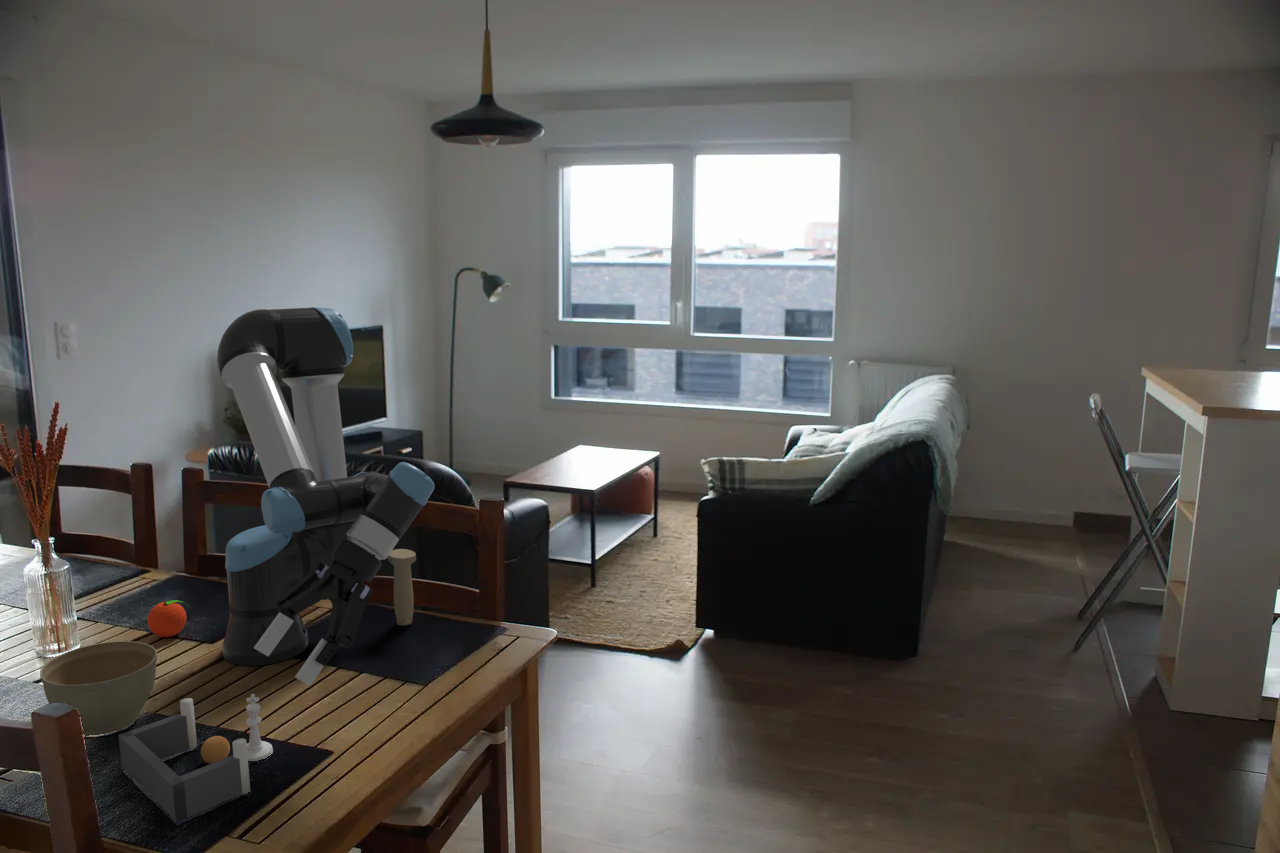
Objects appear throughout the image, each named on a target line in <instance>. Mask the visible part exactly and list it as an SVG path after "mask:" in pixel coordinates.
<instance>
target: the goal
mask: <svg viewBox="0 0 1280 853" xmlns="http://www.w3.org/2000/svg"><path fill="white" fill-rule="evenodd" d="M179 707H180V713H177V714H174V715H171V716H168V717H166V718H163V719H159V720H157V721H155V722H152V723H148V724H146V725H143V726H140V727H137V728H134V729H131V730H129V731H126V732H123V733H120V734H118V744H119V745H118V746H119V753H120V762H121V768H122V767H123V768H124V769H125V770H126V771H127V772H128V773H129V774H130V775H131V776H132V777H133V778H134V779H135V780H136V781H137V782H138V784H140V785H141V787H143V789H145V790H146V791H147V792H148V793H149V794H150V795H151V796H152V797H153V798H154V799H155V800H156V801H157V802H158V803H159V804H160V805H161V806H162V807H163V809H164V810H165V811H166V812H167V813H168V814H169V815H170V816H171V818H172V819H173V820H174V821H175V822H177V821H180V820H182V819H185V818H187V817H190V816H192V815H195V814H197V813H198V812H199V811H203V810H205V809H206V808H210V807H211V806H215V805H216V804H219V803H222V802H224V801H227V800H230V799H233V798H234V797H238V796H240V795H243V794H247V793H248V792H250V793H251V785H250V784H251V783H250V770H249V763H248V755H247V744H248V743H247V739H246V738H237V739H235V740H233V741H232V743H231V744H232V755H230V756H229V755H228V756H227V758H224V759H222V760H219V761H217V762H214V763H212V764H209V763H208V764H207V765H205V766H202V767H199V768H197V769H194V770H192V771H190V772H187V773H185V774H182V775H179V774H177V773H176V771H174V770H173V769H171V767H170V766H168V765H167V764H166V763H165V762H163V761H162V760H161V759H162V758H164V757H168V756H172V755H175V754H177V753H180V752H183V751H186V750H188V749H193V748H195V747H196V746H197V747H198V742H197V740H198V739H197V730H196V721H195V720H196V718H195V707H194V698H192V697H191V698H190V697H188V698H187V697H186V698H183V699H180V701H179Z"/></svg>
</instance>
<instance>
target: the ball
mask: <svg viewBox="0 0 1280 853" xmlns="http://www.w3.org/2000/svg"><path fill="white" fill-rule="evenodd" d="M230 751H231V745H230V742H229V741H228V740H227V739H226V737H224V736H221V735H213V736H211V737H209V738H206V740H205V741H204V742H203V743H202V745H201V748H200V756H201V759H202V760H203V761H204V762H206V763H207V764H209V763H210V764H212V763H214V762H217V761H219V760H222V759H224V758H227V757H229V755H230Z"/></svg>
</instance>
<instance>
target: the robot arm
mask: <svg viewBox="0 0 1280 853" xmlns="http://www.w3.org/2000/svg"><path fill="white" fill-rule="evenodd" d="M353 353H354V345H353V338H352V334H351V331H350V328H349V326H348V323H347V322H346V320H345V318H344V317H343V315H342V314H341V313H340V312H339V311H338V310H336V309H333V308H331V307H315V306H314V307H312V306H311V307H300V308H299V307H297V308H296V307H295V308H280V309H279V308H277V309H276V308H273V309H265V308H264V309H263V308H262V309H261V308H260V309H255V310H250V311H248V312H246V313H245V312H244V313H243V314H242V315H240V316H238V317H237V318H235V319H234V320H233V322H232V323H231V324H229V325H228V327H227V328H226V329H225V330H224V333H223V335H222V337H221V339H220V342H219V344H218V348H217V356H216V358H217V359H216V362H217V367H218V368H217V369H218V371H219V374H220V377H221V379H222V382H223V383H224V384H225V386H226V387H228V388H229V389H231V390H232V392H233V395H234V397H235V400H236V402H237V403H236V404H237V405H238V408H239V411H240V412H241V416H242V419H243V421H244V424H245V426H246V430H247V431H248V434H249V437H250V441H251V443H252V445H253V449H254V450H255V453H256V454H255V455H256V457H257V459H258V461H259V465H260V467H261V469H262V472H263V475H264V478H265V480H266V483H267V485H268V489H266V490H265V491H264V492H262V496H261V500H260V503H261V504H260V506H261V508H260V509H261V512H262V518H263V522H264V525H260V526H256V527H252V528H249V529H246V530H243V531H242V532H239V533H237V534H235V536H233V537H232V538H230V540H229V541H228V542H227V544H226V546H225V565H224V567H225V568H224V569H225V571H226V579H227V589H228V601H229V602H228V603H229V618H228V619H229V621H228V623H227V629H226V634H225V637H224V638H223V642H222V653H223V658H224V660H225V661H226V662H228V663H231V664H233V665H237V666H249V667H250V666H251V667H255V666H265V665H271V664H277V663H280V662H284V661H287V660H290V659H291V658H294V657H296V656H298V655H299V654H301V653H303V652H304V651H305V650H306V649H307V647H308V646H309V635H308V630H307V628H306V626H305V624H304V622H303V620H302V616H301V615H300V613H302V612H304V611H306V610H308V609H309V608H310V607H312V606H314V605H315V604H317V603H319V602H320V601H323V600H324V601H326V600H329V601H330V603H331V611H330V617H329V623H328V628H327V633H326V635H324V636H322V638H321V639H320V640H319V642H318V643H317V645H316V646H315V647H314V649H313V650H312V652H311V653H310V655H309V656H308V658H307V659H306V660H305V661H304V664H303V665H302V666H301V667H300V669H299V670H298V672H297V673H296V675H295V676H294V678H295V679H297V680H299V681H301V682H303V683H304V684H306V685H308V686H309V687H311V686H312V684H313V683H314V681H315V680H316V679H317V677H318V676H319V674H320V673H321V671H322V670H323V668H324V667H325V666H326V665H328V663H329V662H330V661H331V659H332V657H333V656H334V655H335V653H336V652H337V650H338V649H341V648H346V649H350V648H352V646H353V644H354V640H355V638H356V636H357V632H358V629H359V626H360V623H361V620H362V617H363V614H364V611H365V607H366V605H367V602H368V601H369V599H370V597H371V595H373V589H372V588H370V587H369V586H368V585H366V584H365V583H364V582H367V583H368V582H372V580H373V579H374V577H375V576H376V574H377V573H378V571H379V570H380V569H381V567H382V566H383V565H382V562H381V560H386V559H388V555H389V554H390V552H391V551H392V550H394V548H395V546H396V545H397V544H398V542H399V541H400V540H401V538H402V537H403V535H404V534H405V533H406V532H407V530H408V528H409V527H410V525H411V524H412V523H413V522H414V520H415V518H416V517H417V516H418V514H420V512H421V510H422V509H423V508H424V507H425V506H426V505H427V502H428V500H429V498H430V496H431V495H432V493H433V492H434V490H435V483H434V481H433V480H432V478H431V477H430V476H429V475H427V474H426V473H425V472H424V471H422V470H421V469H420V468H418V467H416V466H415V465H413V464H410V463H409V462H405V461H401V462H399V463H397V464H396V465H395V467H394V468H393V469H391V471H390V472H389V474H388V475H387V474H383V473H380V472H376V471H363V472H359V473H356V474H355V475H352V476H348V470H347V464H346V462H347V461H346V453H345V443H344V434H343V423H342V415H341V404H340V398H339V397H340V396H339V388H338V385H339V383H340V381H341V380H342V379H343V378H344V376H345V369H344V368H345V367H347V366H349V365H350V364H351V363H352V361H353V357H354V354H353ZM278 371H280V376H281V381H282V382H283V383H285V384H286V385H287V386H288V387H289V388H290V390H291V398H292V407H293V409H292V410H293V415H294V416H293V417H292V413H291V412H290V409H289V407H288V404H287V402H286V400H285V397H284V394H283V392H282V388H281V387H280V385H279V382H278V380H277V377H276V375H277V372H278ZM293 418H294V420H293Z"/></svg>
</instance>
